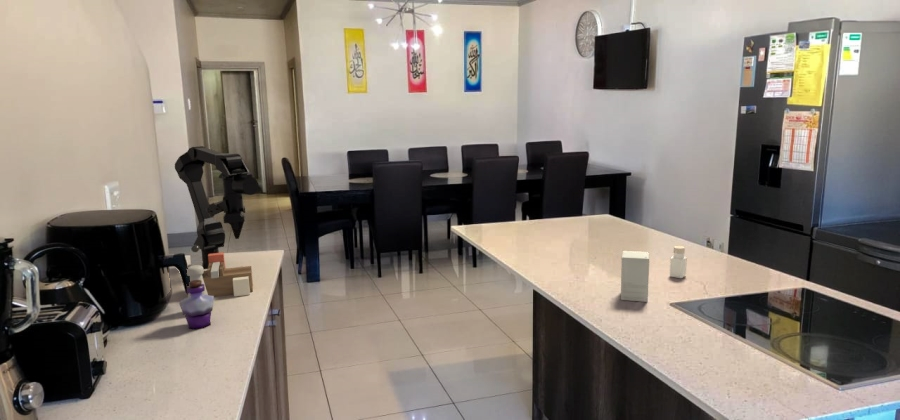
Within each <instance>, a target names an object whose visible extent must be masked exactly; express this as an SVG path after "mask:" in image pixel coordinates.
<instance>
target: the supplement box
mask: <svg viewBox="0 0 900 420" xmlns="http://www.w3.org/2000/svg"><path fill="white" fill-rule="evenodd" d="M620 268H621V276H620V278H621V279H620V301H628V302H629V301H631V302H643V303H644V302H645V303H648V299H649V283H650V282H649V276H650V254H649V252H648V251H637V250H636V251H635V250H634V251H633V250H632V251H629V250H623V251H622V254H621V267H620Z"/></svg>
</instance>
